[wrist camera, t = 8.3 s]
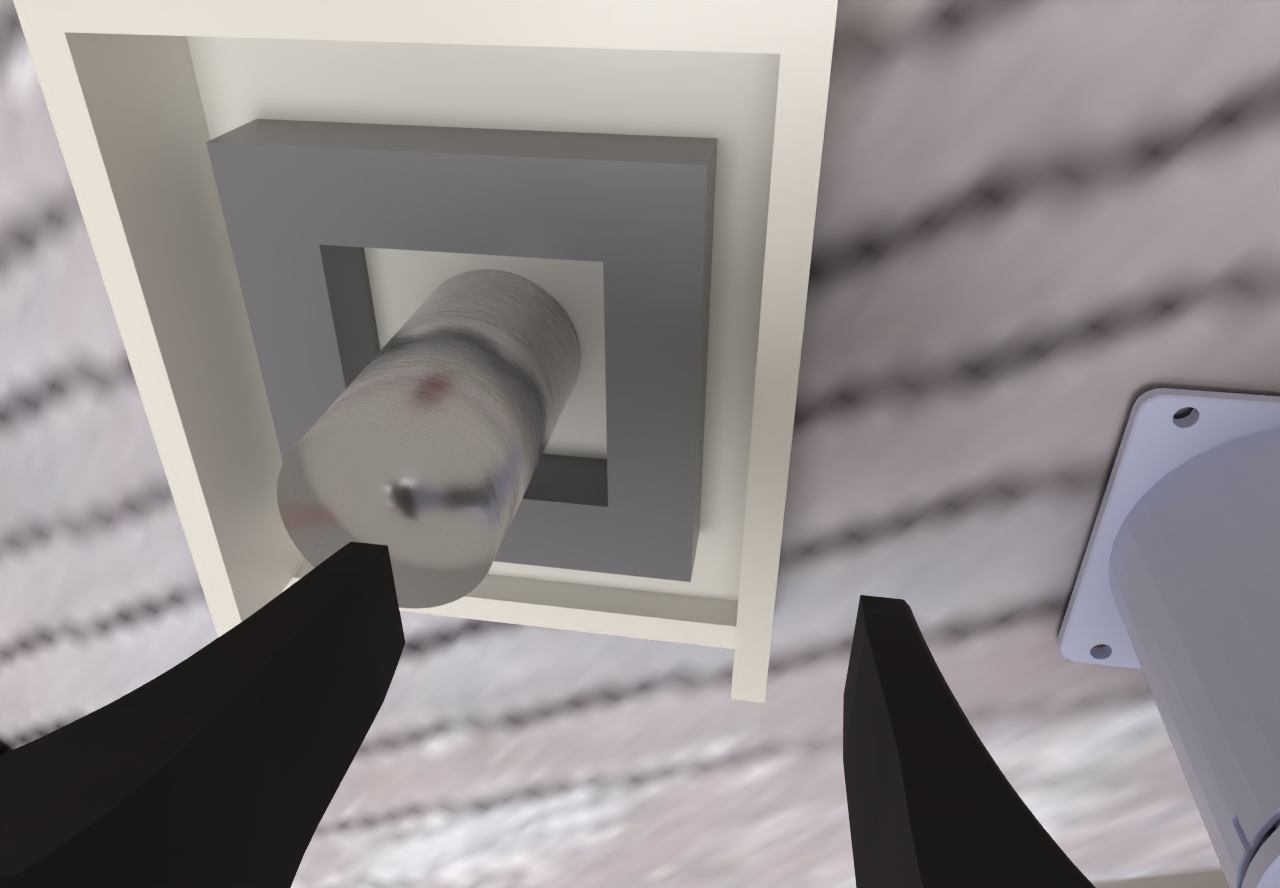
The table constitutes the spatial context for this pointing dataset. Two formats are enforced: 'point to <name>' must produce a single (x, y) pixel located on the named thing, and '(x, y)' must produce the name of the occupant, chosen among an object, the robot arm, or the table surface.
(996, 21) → the table surface
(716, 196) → the walled box
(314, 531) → the metal plug
